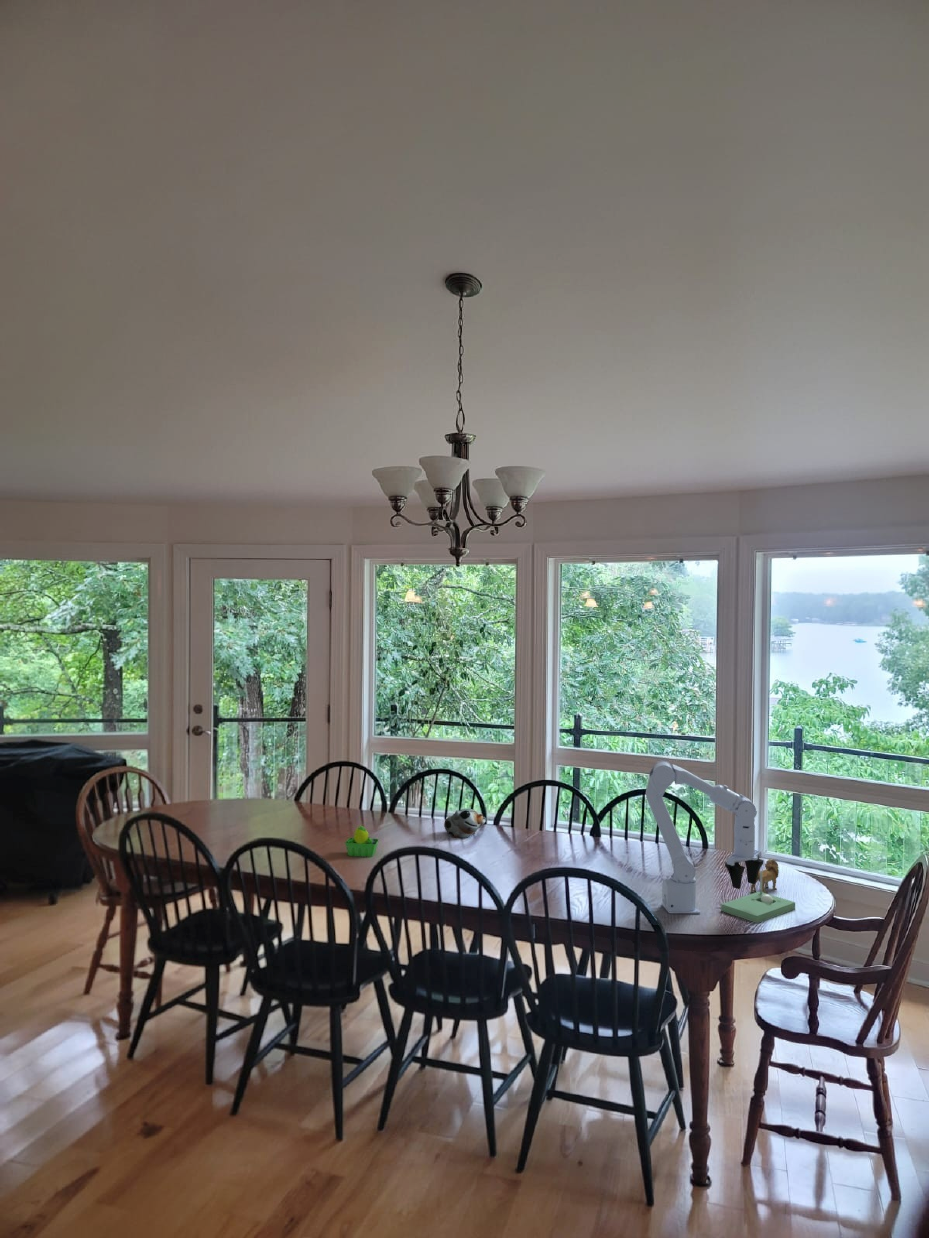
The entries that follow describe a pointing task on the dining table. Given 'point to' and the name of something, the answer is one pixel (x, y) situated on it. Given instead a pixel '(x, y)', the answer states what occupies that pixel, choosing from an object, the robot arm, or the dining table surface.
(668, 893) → the robot arm
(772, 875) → the lion figurine
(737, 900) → the putting mat
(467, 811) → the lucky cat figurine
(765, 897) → the golf ball
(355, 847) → the fruit basket
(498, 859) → the dining table surface
